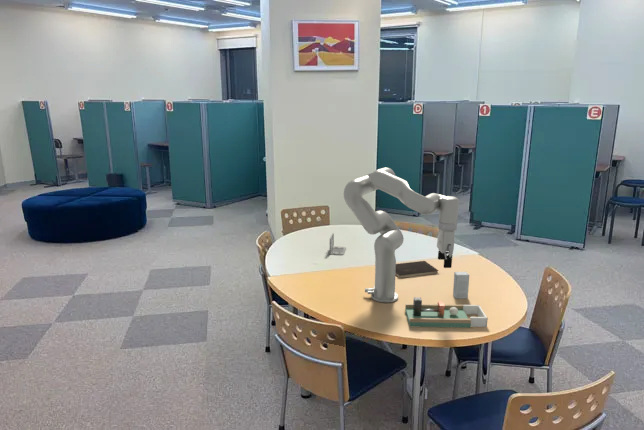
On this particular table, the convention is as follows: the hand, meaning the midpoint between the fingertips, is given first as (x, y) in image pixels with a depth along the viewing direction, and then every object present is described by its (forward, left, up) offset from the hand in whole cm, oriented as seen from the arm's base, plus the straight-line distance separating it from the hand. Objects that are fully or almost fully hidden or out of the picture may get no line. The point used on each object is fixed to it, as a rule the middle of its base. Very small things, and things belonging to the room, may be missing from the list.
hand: (444, 263), depth 201 cm
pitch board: (-3, -8, -23) cm, 24 cm away
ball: (+4, -8, -19) cm, 21 cm away
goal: (+13, -8, -23) cm, 27 cm away
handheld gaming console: (-47, +78, -23) cm, 94 cm away
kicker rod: (-7, -8, -20) cm, 23 cm away
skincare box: (+12, +15, -23) cm, 30 cm away
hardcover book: (-6, +48, -23) cm, 54 cm away
